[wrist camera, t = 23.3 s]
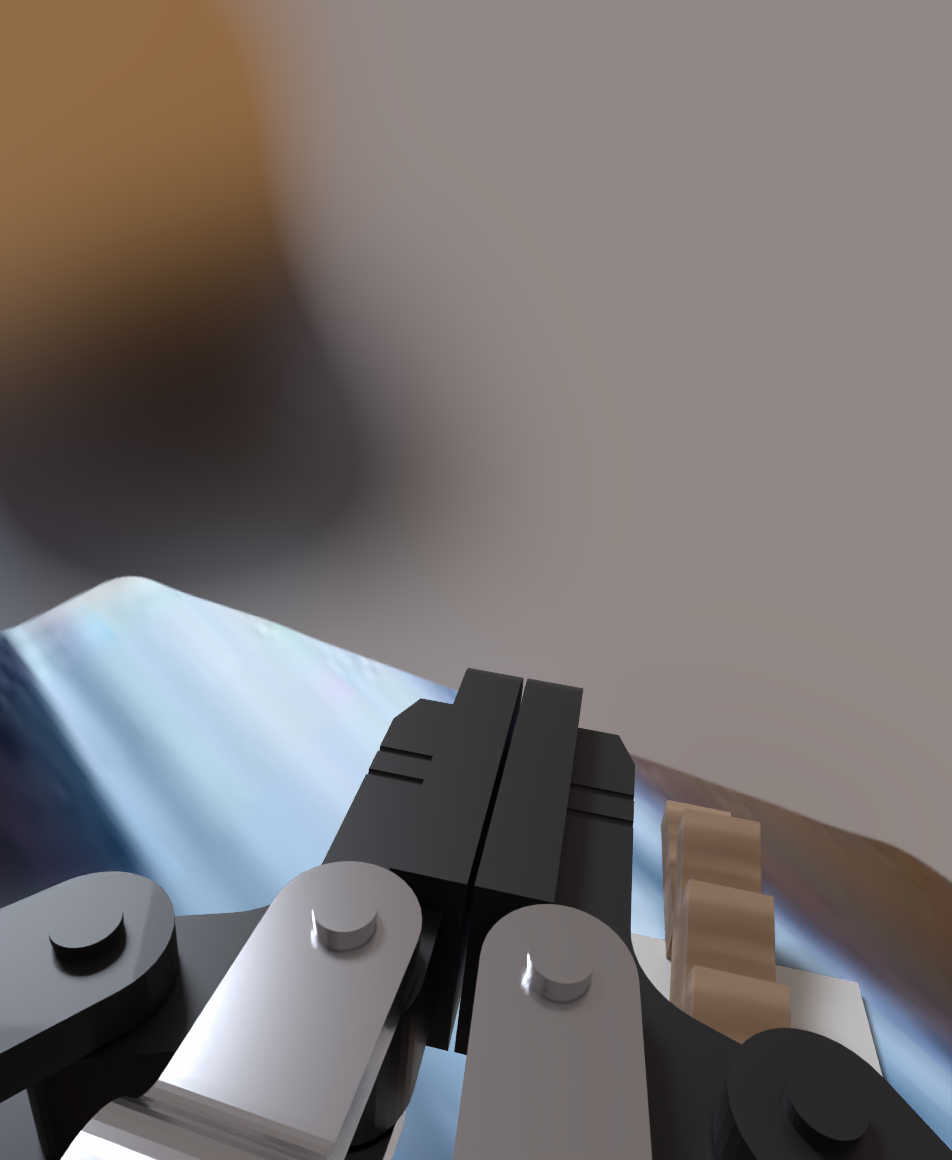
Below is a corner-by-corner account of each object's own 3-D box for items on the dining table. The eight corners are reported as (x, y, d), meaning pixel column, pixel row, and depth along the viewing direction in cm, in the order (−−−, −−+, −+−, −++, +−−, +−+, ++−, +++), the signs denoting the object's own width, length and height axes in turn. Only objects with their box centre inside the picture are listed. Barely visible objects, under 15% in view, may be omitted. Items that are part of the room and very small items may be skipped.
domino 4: (802, 1326, 28) (789, 986, 35) (683, 1294, 28) (694, 965, 35) (784, 1325, 29) (776, 998, 36) (672, 1294, 30) (685, 978, 37)
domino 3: (781, 1170, 32) (773, 896, 39) (679, 1144, 33) (689, 879, 40) (767, 1175, 34) (762, 910, 41) (669, 1150, 34) (681, 894, 41)
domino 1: (752, 946, 42) (730, 812, 52) (673, 929, 42) (667, 799, 52) (743, 974, 42) (723, 837, 52) (665, 957, 43) (661, 824, 53)
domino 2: (765, 1047, 37) (760, 822, 44) (675, 1028, 37) (685, 807, 44) (753, 1057, 38) (750, 837, 45) (667, 1038, 39) (677, 823, 46)
